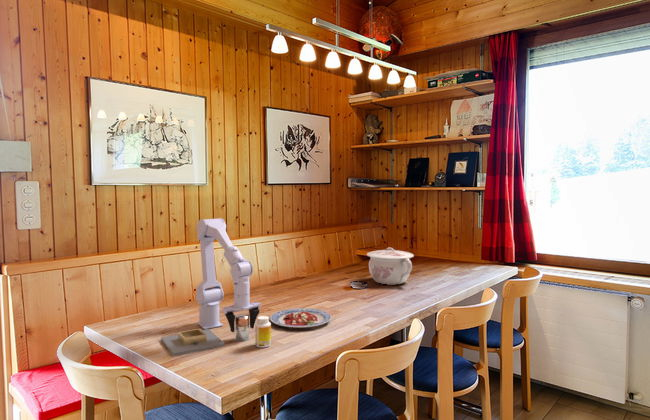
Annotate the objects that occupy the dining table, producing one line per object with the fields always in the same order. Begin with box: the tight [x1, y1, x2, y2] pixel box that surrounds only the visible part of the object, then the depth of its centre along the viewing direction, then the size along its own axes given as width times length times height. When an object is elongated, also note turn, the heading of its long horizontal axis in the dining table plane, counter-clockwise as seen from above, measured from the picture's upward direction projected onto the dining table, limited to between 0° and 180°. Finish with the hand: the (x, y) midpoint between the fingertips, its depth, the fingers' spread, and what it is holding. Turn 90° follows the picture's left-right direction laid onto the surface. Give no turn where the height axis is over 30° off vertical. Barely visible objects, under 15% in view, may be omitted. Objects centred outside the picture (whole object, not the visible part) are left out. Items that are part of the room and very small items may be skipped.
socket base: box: [160, 328, 226, 357], centre depth 164 cm, size 18×18×1 cm
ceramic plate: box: [269, 307, 332, 329], centre depth 189 cm, size 26×26×3 cm
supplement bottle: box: [254, 315, 272, 349], centre depth 161 cm, size 6×6×10 cm
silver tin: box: [234, 313, 250, 342], centre depth 168 cm, size 5×5×9 cm
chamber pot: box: [366, 247, 415, 286], centre depth 260 cm, size 28×28×21 cm
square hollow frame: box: [177, 328, 207, 346], centre depth 164 cm, size 11×8×2 cm
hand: (242, 329), depth 168 cm, fingers open, 7 cm apart
